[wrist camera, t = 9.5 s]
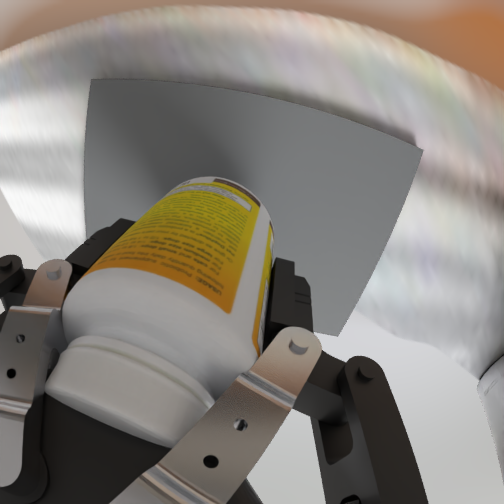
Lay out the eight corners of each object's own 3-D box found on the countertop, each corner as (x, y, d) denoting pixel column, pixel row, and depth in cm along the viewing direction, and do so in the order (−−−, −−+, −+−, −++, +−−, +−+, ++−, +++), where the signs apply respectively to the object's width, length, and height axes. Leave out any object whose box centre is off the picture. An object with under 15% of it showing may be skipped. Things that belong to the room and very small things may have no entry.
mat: (417, 147, 13) (423, 150, 12) (336, 328, 19) (337, 336, 18) (99, 79, 12) (91, 79, 12) (95, 265, 19) (90, 270, 18)
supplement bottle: (140, 202, 13) (-13, 359, 4) (243, 152, 11) (102, 344, 3) (195, 291, 15) (122, 471, 7) (293, 261, 14) (284, 488, 5)
